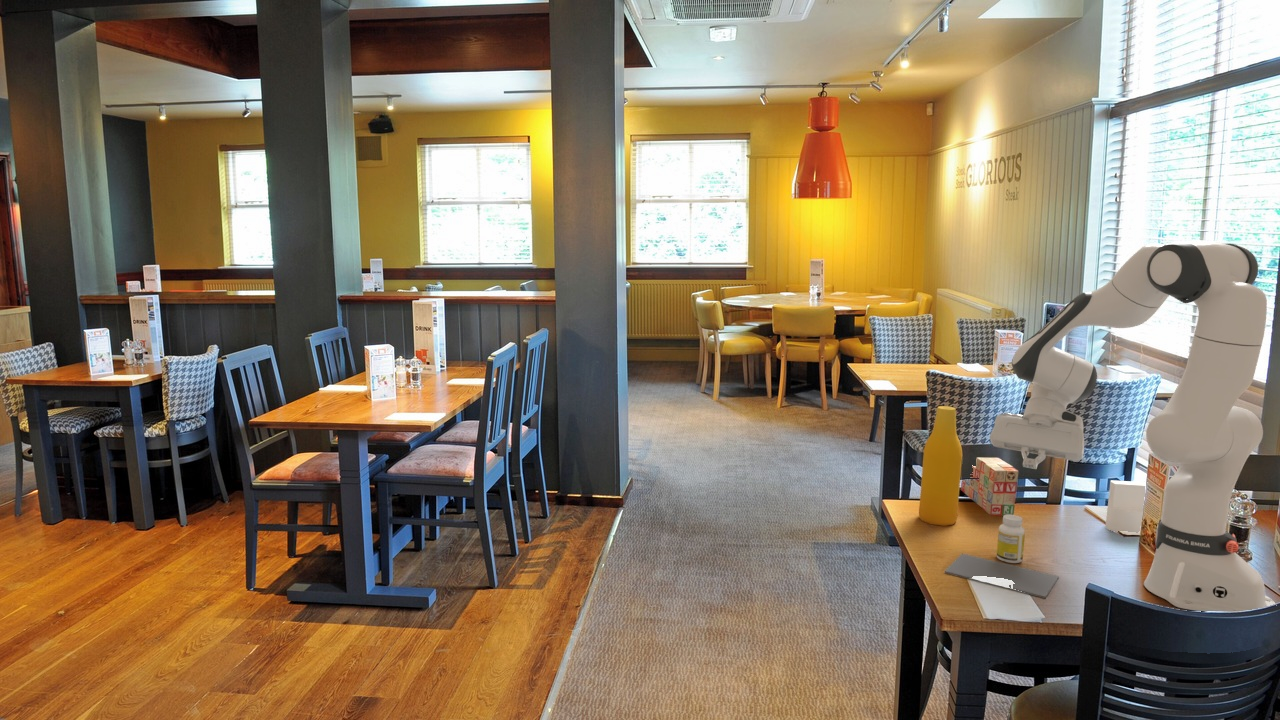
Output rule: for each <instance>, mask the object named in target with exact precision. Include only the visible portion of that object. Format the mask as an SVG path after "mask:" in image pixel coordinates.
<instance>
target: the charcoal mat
mask: <svg viewBox="0 0 1280 720" xmlns="http://www.w3.org/2000/svg"><path fill="white" fill-rule="evenodd" d="M943 573H945V574H947V575H952V576H956V577H959V578H963V579H967V578H972V577H973V576H987V577H996V578H1004V579H1008V580H1012V581H1013V582H1014V583H1015V584H1013V589H1016V590H1019V591H1022V592H1025V593H1024V594H1026V593H1028V594H1027V595H1030V596H1035V597H1040V598H1043V599H1046V598H1047V597H1048V595H1049V594H1050V592H1051V591H1052V589H1053V588H1054V586H1055V584H1056V583H1057V582H1058V580H1059V575H1056V574H1055V575H1054V574H1049V573H1046V572H1042V571H1039V570H1038V571H1037V570H1033V569H1031V568H1025V567H1021V566H1017V565H1014V564H1013V565H1012V564H1010V563H1009V564H1008V563H1006V562H1000V561H996V560H992V559H987V558H984V557H979V556H976V555H970V554H966V553H961V554H960V555H959V556H958V557H957V558H956V559H955V560H954V561H953V562H952V563H950V565H949V566H948V567H947V568H946V569H945V570H944V572H943ZM1009 587H1010V588H1011V585H1009ZM1022 592H1021V593H1022Z"/></svg>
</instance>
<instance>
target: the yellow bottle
mask: <svg viewBox="0 0 1280 720" xmlns="http://www.w3.org/2000/svg"><path fill="white" fill-rule="evenodd" d="M956 413H957V412H956V407H954V406H953V407H952V406H947V405H944V406H943V405H940V406H937V409H936V415H935V420H934V424H933V425H934V426H933V429H932V432H931V433H930V435H929V437H928V438H927V440H926V442H925V445H924V447H923V458H922V471H921V482H920V495H919V496H920V497H919V507H918V516H919V519H920V520H921V521H922V522H925V524H930V525H933V526H944V527H945V526H946V527H947V526H953V525H954V524H956V523H957V520H958V514H959V513H958V511H959V501H960V500H959V497H960V489H961V477H962V464H963V449H962V445H961V441H960V439H959V436H958V434H957V416H956Z"/></svg>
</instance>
